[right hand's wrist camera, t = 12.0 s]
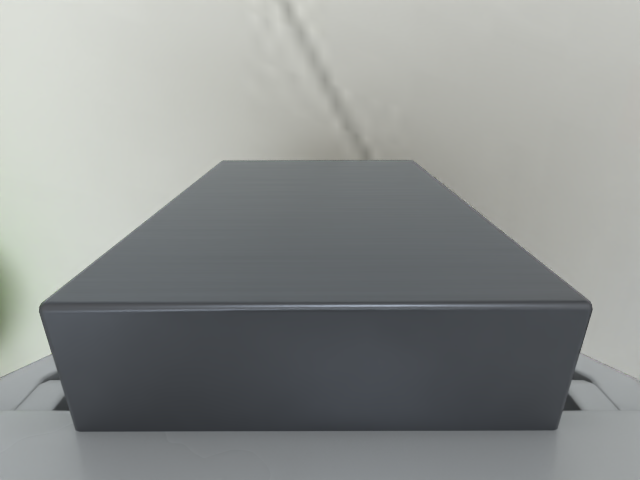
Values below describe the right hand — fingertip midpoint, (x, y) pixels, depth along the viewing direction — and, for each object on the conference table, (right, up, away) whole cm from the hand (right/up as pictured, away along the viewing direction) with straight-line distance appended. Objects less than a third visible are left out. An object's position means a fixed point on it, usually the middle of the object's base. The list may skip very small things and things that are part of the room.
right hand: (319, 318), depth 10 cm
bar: (0, -7, +6) cm, 10 cm away
